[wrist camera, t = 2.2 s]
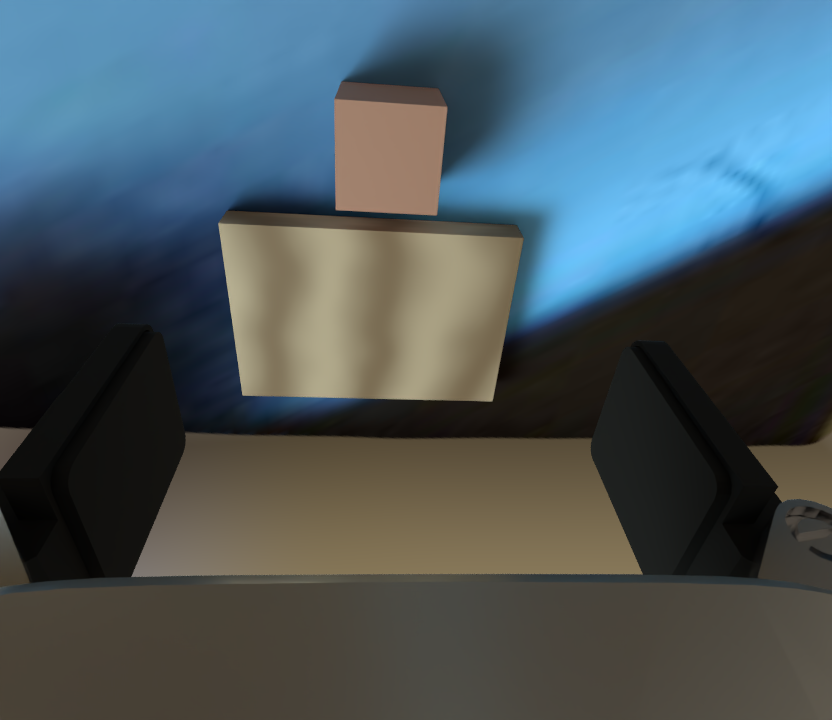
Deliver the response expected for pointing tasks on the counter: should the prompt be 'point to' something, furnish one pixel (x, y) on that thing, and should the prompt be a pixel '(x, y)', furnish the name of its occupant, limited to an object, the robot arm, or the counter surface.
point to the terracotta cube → (388, 148)
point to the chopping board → (368, 305)
